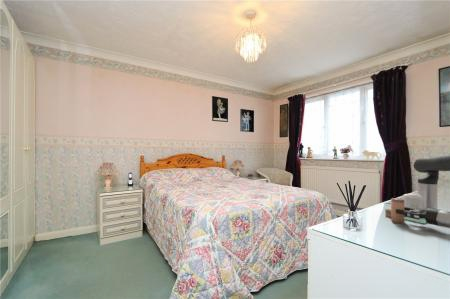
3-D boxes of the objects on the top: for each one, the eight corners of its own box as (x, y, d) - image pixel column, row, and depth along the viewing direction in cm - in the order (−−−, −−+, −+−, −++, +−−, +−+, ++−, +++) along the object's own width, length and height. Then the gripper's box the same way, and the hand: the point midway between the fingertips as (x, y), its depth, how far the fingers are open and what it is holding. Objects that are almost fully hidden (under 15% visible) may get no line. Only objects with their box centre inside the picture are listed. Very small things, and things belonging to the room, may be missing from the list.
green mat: (408, 216, 126) (408, 215, 126) (431, 221, 118) (431, 220, 118) (400, 219, 121) (400, 218, 121) (423, 224, 113) (423, 223, 113)
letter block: (388, 215, 129) (388, 208, 129) (396, 217, 125) (396, 209, 125) (385, 216, 127) (385, 209, 127) (393, 218, 123) (393, 210, 124)
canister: (394, 219, 120) (394, 197, 121) (406, 222, 116) (406, 199, 116) (389, 221, 118) (389, 198, 118) (401, 224, 113) (401, 201, 113)
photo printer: (418, 213, 132) (418, 193, 132) (424, 215, 128) (424, 194, 128) (400, 213, 133) (400, 192, 133) (405, 215, 129) (405, 194, 129)
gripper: (446, 208, 105) (405, 201, 119) (435, 212, 98) (393, 204, 112) (446, 223, 105) (405, 215, 119) (435, 228, 98) (393, 219, 112)
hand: (399, 209), depth 116 cm, fingers open, 8 cm apart
